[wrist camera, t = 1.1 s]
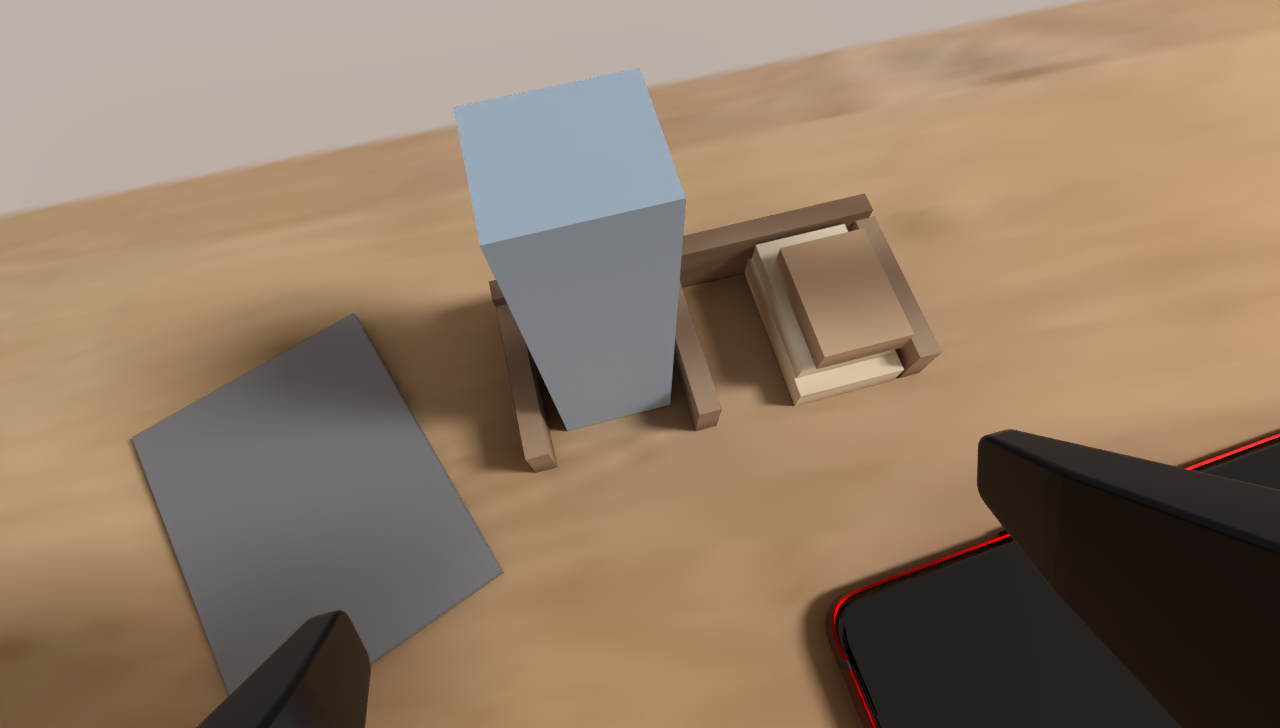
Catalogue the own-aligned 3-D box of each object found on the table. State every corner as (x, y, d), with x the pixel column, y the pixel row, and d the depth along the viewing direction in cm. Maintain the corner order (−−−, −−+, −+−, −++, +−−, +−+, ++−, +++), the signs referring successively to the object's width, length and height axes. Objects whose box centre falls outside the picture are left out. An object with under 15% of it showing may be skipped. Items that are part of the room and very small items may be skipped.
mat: (503, 572, 21) (501, 571, 21) (256, 744, 19) (248, 746, 19) (357, 317, 25) (353, 313, 25) (140, 440, 23) (131, 438, 23)
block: (669, 404, 23) (685, 197, 12) (567, 431, 23) (479, 245, 11) (646, 324, 25) (639, 67, 13) (549, 348, 24) (453, 107, 13)
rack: (918, 372, 24) (947, 346, 21) (535, 472, 22) (522, 456, 20) (851, 229, 26) (870, 192, 24) (504, 312, 25) (488, 281, 23)
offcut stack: (893, 380, 23) (929, 345, 20) (794, 405, 23) (816, 374, 20) (835, 251, 26) (859, 202, 23) (744, 273, 25) (756, 226, 22)
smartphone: (1773, 739, 18) (1026, 1107, 15) (1690, 730, 19) (993, 1065, 16) (1440, 371, 22) (817, 601, 20) (1392, 386, 24) (805, 602, 21)
